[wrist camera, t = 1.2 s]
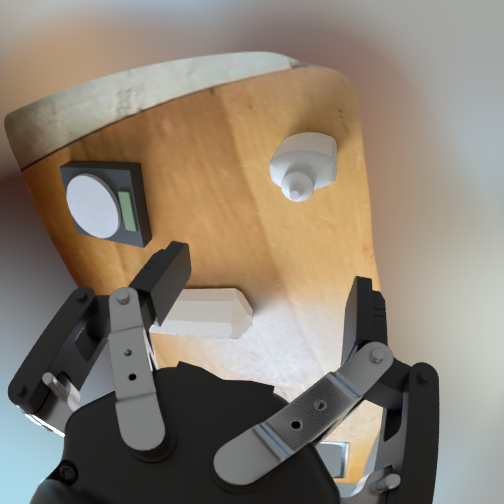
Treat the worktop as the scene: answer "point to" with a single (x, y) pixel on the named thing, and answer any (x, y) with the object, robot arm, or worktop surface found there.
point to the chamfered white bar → (208, 314)
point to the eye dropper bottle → (304, 164)
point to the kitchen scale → (107, 200)
